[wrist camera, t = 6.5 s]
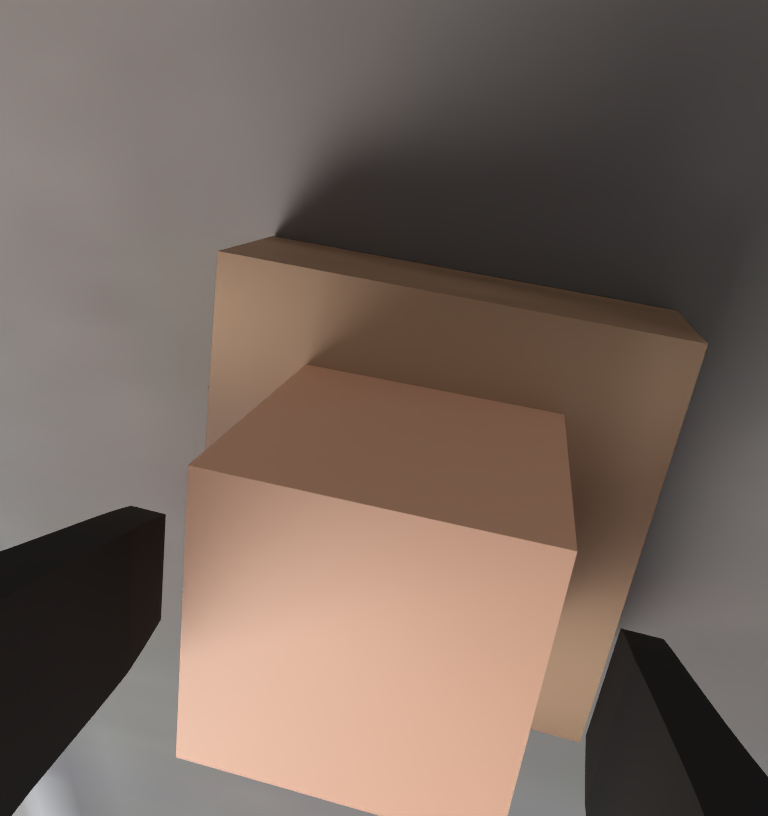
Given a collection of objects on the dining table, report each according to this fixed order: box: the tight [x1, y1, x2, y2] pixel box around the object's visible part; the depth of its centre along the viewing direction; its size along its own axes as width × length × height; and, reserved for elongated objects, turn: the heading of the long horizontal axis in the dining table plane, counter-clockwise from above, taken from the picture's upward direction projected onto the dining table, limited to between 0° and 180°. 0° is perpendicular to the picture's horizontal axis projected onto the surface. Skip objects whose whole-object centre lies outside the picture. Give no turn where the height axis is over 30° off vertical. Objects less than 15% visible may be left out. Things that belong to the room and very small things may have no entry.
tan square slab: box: [205, 236, 708, 742], centre depth 16 cm, size 9×9×3 cm
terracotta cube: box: [176, 365, 577, 816], centre depth 12 cm, size 5×5×5 cm
